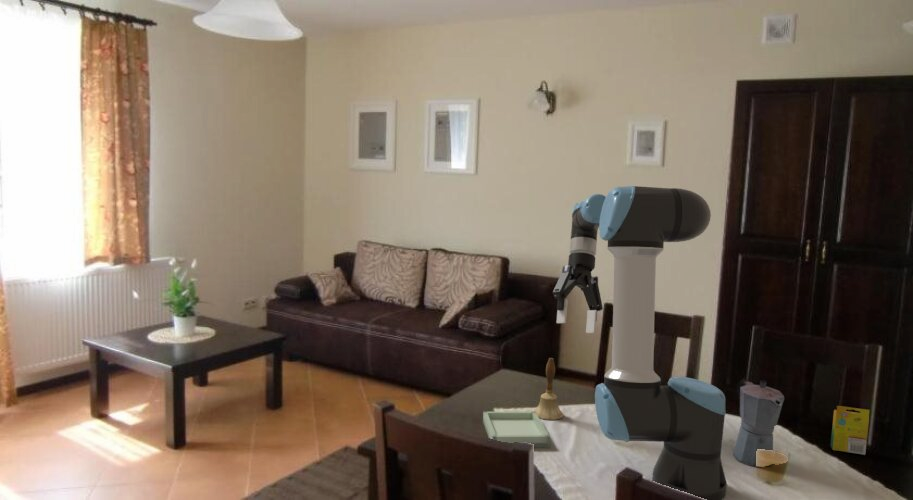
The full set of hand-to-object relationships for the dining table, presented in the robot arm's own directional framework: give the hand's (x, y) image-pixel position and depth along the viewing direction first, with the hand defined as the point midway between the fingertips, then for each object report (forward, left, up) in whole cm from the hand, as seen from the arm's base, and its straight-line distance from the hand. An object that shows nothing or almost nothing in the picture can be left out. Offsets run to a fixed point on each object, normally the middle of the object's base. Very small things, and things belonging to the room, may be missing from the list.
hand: (576, 328), depth 179 cm
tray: (-16, +19, -24) cm, 35 cm away
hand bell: (-3, +7, -24) cm, 25 cm away
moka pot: (-31, -36, -24) cm, 53 cm away
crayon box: (-27, -64, -24) cm, 73 cm away
